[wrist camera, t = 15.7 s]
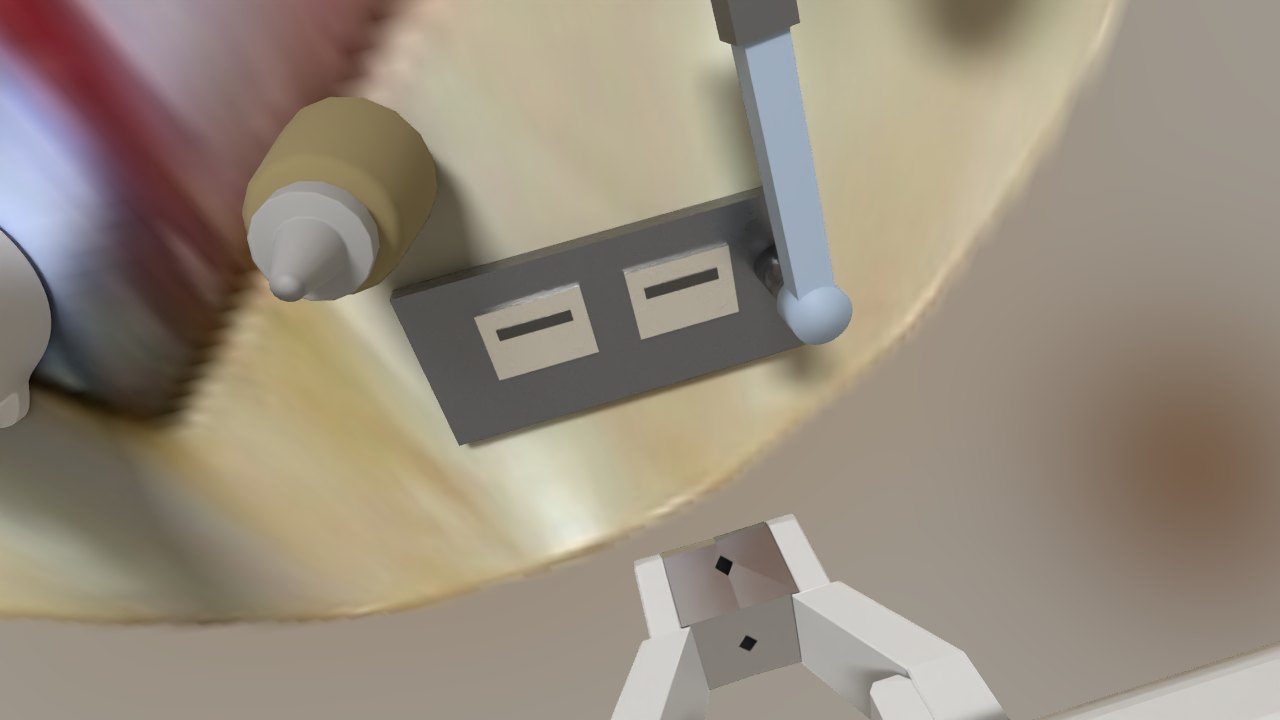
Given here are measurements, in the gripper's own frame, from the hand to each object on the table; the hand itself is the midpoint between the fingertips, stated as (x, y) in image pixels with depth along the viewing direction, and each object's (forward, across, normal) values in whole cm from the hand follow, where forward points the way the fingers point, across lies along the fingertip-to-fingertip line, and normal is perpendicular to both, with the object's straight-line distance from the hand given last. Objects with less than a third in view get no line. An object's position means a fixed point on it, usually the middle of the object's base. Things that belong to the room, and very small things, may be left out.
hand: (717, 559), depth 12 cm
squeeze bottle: (+33, +11, -2) cm, 35 cm away
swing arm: (+26, -11, +2) cm, 29 cm away
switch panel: (+33, 0, +12) cm, 35 cm away
